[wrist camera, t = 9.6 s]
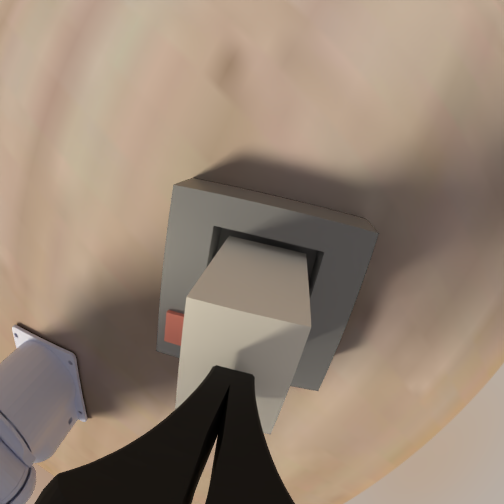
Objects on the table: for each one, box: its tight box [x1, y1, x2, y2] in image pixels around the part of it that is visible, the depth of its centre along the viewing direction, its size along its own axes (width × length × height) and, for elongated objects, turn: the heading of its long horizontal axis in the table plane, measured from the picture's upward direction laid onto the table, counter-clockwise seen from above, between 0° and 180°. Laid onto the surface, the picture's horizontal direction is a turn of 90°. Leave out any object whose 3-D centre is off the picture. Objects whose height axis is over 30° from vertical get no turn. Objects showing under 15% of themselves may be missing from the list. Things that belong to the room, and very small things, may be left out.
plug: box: [175, 236, 311, 434], centre depth 15 cm, size 4×6×8 cm
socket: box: [156, 178, 379, 391], centre depth 18 cm, size 10×10×3 cm
